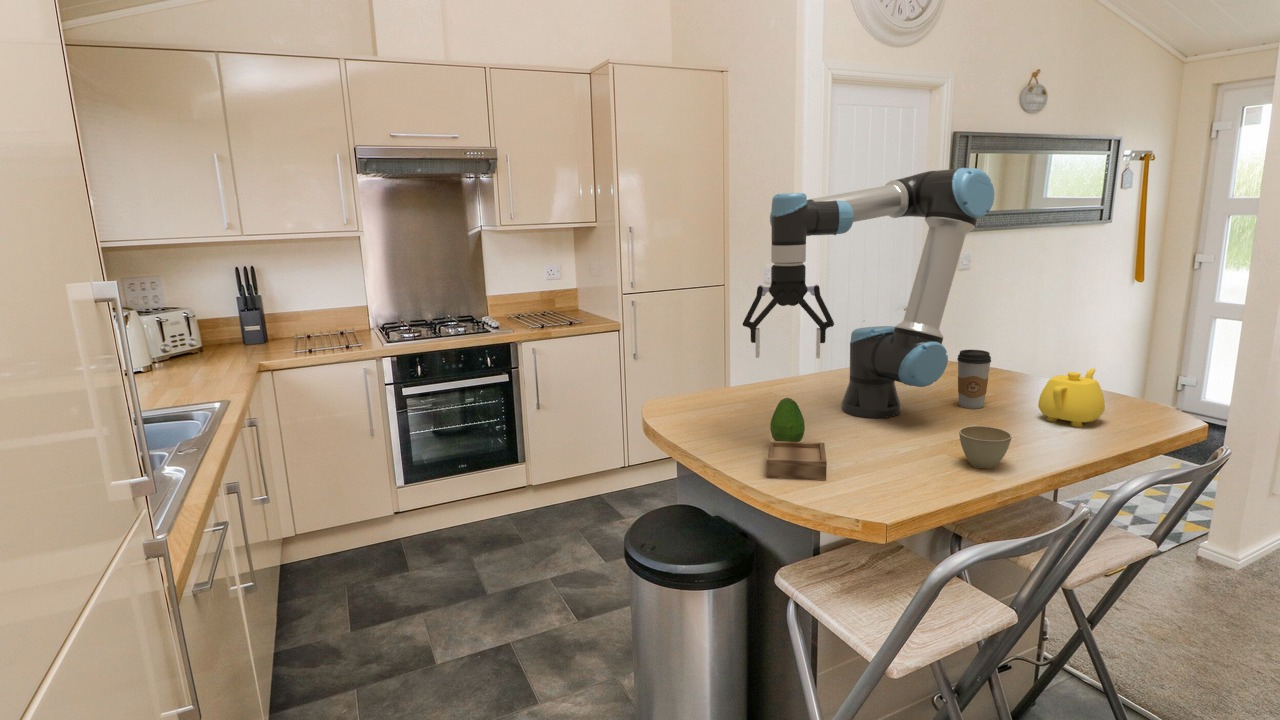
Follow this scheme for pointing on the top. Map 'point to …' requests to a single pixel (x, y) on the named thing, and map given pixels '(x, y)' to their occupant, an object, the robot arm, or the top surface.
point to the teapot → (1072, 398)
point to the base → (796, 460)
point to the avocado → (787, 422)
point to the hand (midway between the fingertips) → (787, 357)
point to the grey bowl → (984, 445)
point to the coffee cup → (973, 378)
